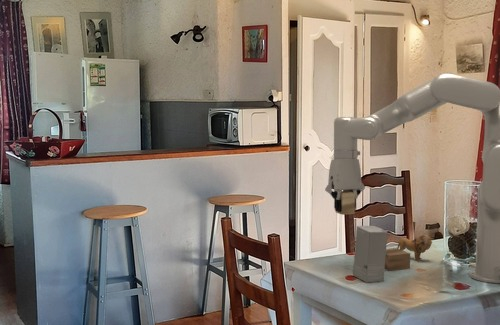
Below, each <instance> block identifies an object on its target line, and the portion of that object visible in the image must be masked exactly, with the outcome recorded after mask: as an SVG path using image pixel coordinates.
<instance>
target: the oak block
mask: <svg viewBox="0 0 500 325" xmlns="http://www.w3.org/2000/svg"><path fill="white" fill-rule="evenodd" d="M340 200H341V212H337V211H335V213H336V214H340V215H343V216H344V215H355V212H356V208H355V192H351V191H349V190H342V192H341V196H340Z"/></svg>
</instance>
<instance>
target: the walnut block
mask: <svg viewBox="0 0 500 325" xmlns="http://www.w3.org/2000/svg"><path fill="white" fill-rule="evenodd" d="M410 268H411V252H407V251H404V250H400V248H398V249H397V247H393V248H386V257H385V269H384V270H385V271H386V270H387V271H388V272H389V271H399V270H408V269H410Z"/></svg>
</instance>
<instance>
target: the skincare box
mask: <svg viewBox="0 0 500 325" xmlns="http://www.w3.org/2000/svg"><path fill="white" fill-rule="evenodd" d="M388 234H389V233H388V231H386V230H384V229H383V228H381V227H378V226H375V225H358V226H356V234H355V235H356V236H355V244H354V245H355V246H354V257H353V270H352V276H354V277H355V278H357V279H359V280H361V281H363V282H364V283H376V282H384V279H385V270H386V269H385V257H386V249H387V245H388V244H387V243H388Z"/></svg>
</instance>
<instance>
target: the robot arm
mask: <svg viewBox="0 0 500 325" xmlns="http://www.w3.org/2000/svg"><path fill="white" fill-rule="evenodd" d="M447 103H449V104H451V105H456V106H460V107H464V108H469V109H473V110H476V111H480V112H481V114H483V118H484V137H483V138H484V139H483V146H482V153H481V161H482V163H483V166H482V180H481V182H480V183H479V185H478V188H477V223H476V240H475V244H476V246H475V267H474V269H472V270H470V272H469V276H470V277H471V278H472V279H473V280H476V281H480V282H484V283H491V284H500V88H499V86H498V85H496V84H495V83H493V82H490V81H487V80H486V81H485V80H482V79H477V78H472V77H467V76H464V75H459V74H454V73H450V72H443V73H440V74H438V75H437V76H436V77H434V78H433V79H430V80H428V81H427V82H425V83H423V84H421V85H419V86H417V87H415V88H413V89H412V90H410V91H408V92H406V93H404V94H402V95H401V96H399V97H398V98H397V99H396V100H395V101H393V102H392V103H391V104H389V105H386V106H385V107H383V108H381V109H379V110H378V111H375V112H374V113H372V114H370V115H367V116H362V117H353V116H351V117H350V116H338V117H336V118H334V121H333V159H331V160H330V164H329V168H328V184H327V185H326V187H325V189H324V191H325V192H326V193H327V194H329V195H330V197H332V199H333V200H334V202H333V203H334V204H333V208H334V211H335V212H336V211H337V212H341V200H340V196H341V192H342V191H351V192H355V209H356V208H357V199H358V197H359V195H360V194H361V193H362V192H363V191H364V190H365V189H366V187H365V184H364V183H363V182H362V172H361V169H362V168H361V164H360V159H358V158H359V157H358V156H360V155H361V151H359V150H358V140H363V141H372V140H375V139H377V138H379V137H380V136H382V135H384V134H386V133H388V132H390V131H392V130H394V129H395V128H398V127H400V126H401V125H403V124H406V123H410V122H412V121H414V120H416V119H419V118H420V117H422V116H424V115H427V114H428V113H430V112H432V111H433V110H434V111H435V109H438V108H441V107H442V106H443V105H445V104H447Z"/></svg>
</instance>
